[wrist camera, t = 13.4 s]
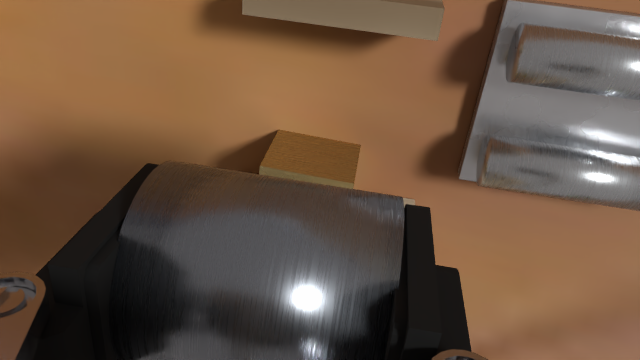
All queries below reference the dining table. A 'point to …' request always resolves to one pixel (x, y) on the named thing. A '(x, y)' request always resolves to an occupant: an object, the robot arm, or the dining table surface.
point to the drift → (311, 159)
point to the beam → (358, 17)
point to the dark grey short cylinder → (254, 268)
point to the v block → (559, 106)
